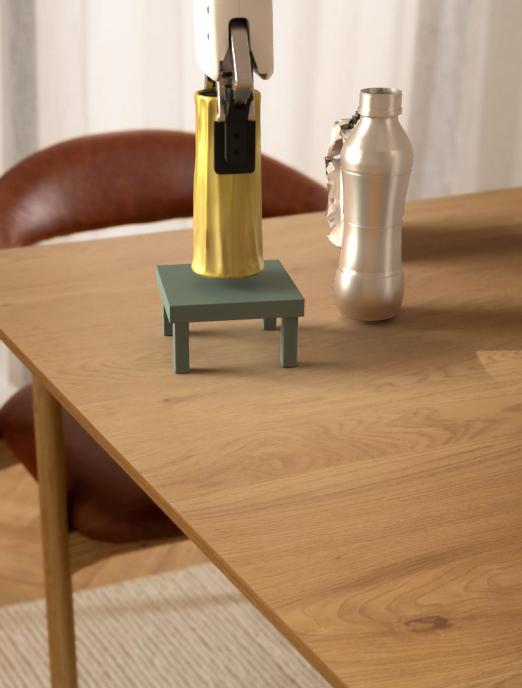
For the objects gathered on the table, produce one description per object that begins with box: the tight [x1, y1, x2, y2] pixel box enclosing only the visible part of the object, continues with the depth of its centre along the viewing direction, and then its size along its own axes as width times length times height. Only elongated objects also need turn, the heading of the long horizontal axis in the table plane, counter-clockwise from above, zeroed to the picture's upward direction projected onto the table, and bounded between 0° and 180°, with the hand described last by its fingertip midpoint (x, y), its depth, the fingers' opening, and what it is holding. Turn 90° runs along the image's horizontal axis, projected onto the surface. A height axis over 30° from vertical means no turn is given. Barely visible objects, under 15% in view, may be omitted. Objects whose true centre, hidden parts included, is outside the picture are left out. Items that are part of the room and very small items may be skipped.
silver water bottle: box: [333, 87, 415, 322], centre depth 104 cm, size 6×7×20 cm
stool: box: [155, 259, 306, 374], centre depth 101 cm, size 11×11×6 cm
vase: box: [190, 87, 264, 280], centre depth 96 cm, size 6×6×14 cm
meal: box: [323, 110, 361, 248], centre depth 127 cm, size 15×4×13 cm, turn 2°
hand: (228, 162), depth 95 cm, fingers closed on vase, 5 cm apart
